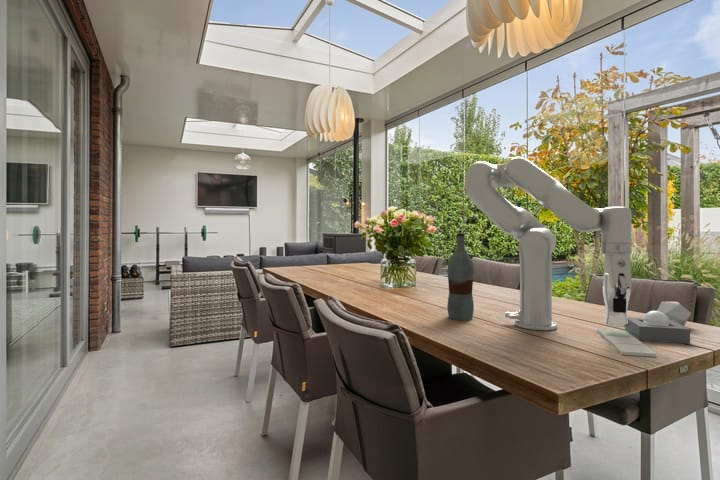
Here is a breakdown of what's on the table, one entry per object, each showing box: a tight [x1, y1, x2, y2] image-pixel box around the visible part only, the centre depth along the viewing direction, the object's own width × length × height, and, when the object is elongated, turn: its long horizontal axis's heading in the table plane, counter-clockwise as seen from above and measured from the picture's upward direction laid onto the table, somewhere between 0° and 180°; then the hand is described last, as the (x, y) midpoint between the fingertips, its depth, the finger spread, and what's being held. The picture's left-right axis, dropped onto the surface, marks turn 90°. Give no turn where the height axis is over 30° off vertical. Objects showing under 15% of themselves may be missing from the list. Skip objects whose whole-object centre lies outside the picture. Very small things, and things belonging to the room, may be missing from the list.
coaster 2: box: [603, 336, 645, 347], centre depth 113 cm, size 8×8×1 cm
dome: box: [643, 310, 669, 326], centre depth 119 cm, size 6×6×6 cm
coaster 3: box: [612, 343, 657, 358], centre depth 106 cm, size 8×8×1 cm
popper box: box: [624, 316, 691, 345], centre depth 119 cm, size 12×12×4 cm
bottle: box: [446, 232, 475, 321], centre depth 145 cm, size 9×9×30 cm
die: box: [656, 301, 692, 327], centre depth 132 cm, size 8×9×10 cm
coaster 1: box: [596, 328, 634, 338], centre depth 121 cm, size 8×8×1 cm
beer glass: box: [602, 272, 632, 328], centre depth 120 cm, size 7×7×15 cm
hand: (615, 309), depth 120 cm, fingers closed on beer glass, 6 cm apart
